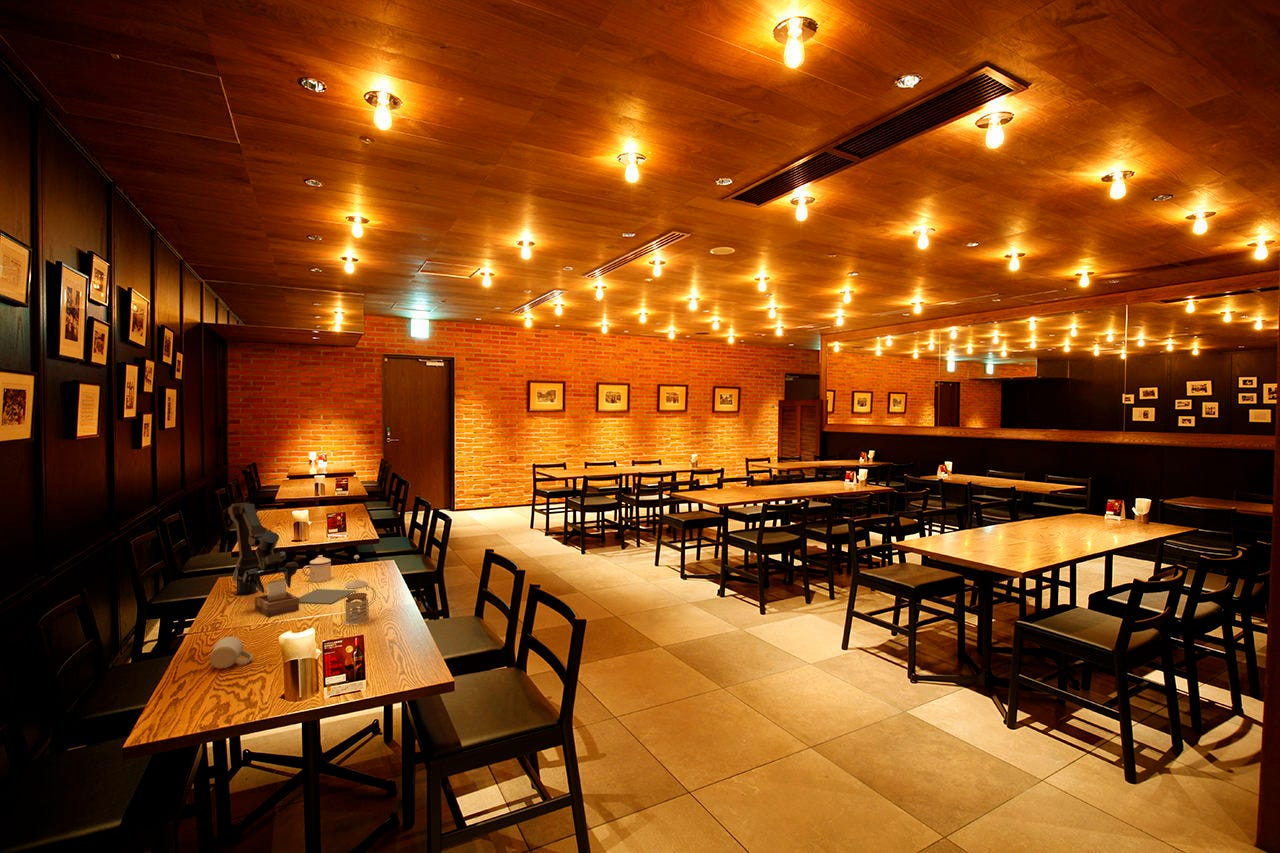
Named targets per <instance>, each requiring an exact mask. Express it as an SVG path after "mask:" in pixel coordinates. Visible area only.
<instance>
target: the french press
mask: <svg viewBox="0 0 1280 853" xmlns="http://www.w3.org/2000/svg"><path fill="white" fill-rule="evenodd" d="M353 559H354V560H355V559H356V560H358V559H360V555H358V554H355V555H354V556H353ZM344 587H345V588H346V590H359V589H364V588H365V590H366V591H368V589H369V588H370V589H371V591H372V598H371V601H370V602H369V598H368V597H367V596H368V594H367V593H365V592H354V593H353V594H351V595H350V594H349V595H348V596H347V597H346V600H345V619H344V620H343V622H342V624H343V623H344V624H349V625H354V624H361V625H363V624H362V623H365V622H367V621H369V620H370V618H371V617H370V618H369V616H370V615H369V612H370V611H369V610H370V608H369V607H370V606H371V605H372V604H374V602H375V600H376V597H377V596H376V590H375V588H373V587H372V586H370V585H369V582H368V581H365V580H360V579H359V580H358V579H356V580H352V581H350V582H348V583H347V584H345V585H344ZM369 622H370V621H369ZM344 624H343V625H344ZM365 624H366V623H365ZM354 626H355V625H354Z"/></svg>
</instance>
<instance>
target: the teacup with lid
mask: <svg viewBox="0 0 1280 853" xmlns="http://www.w3.org/2000/svg"><path fill="white" fill-rule="evenodd" d="M331 564H332V560H331V558H327V557H323V554H321V555H320V554H319V555H317V557H315V559H312V560H310V561H309V565H305V566H303V568H302V574H303V575H304V576H305V577H309V582H311V583H315V582H318V583H324V582H323V581H325V582H328V581H330V580H331V579H332V565H331ZM306 568H309V574H307V573H306V572H305V569H306ZM327 580H328V581H327Z"/></svg>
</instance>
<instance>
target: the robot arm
mask: <svg viewBox="0 0 1280 853" xmlns="http://www.w3.org/2000/svg"><path fill="white" fill-rule="evenodd" d="M227 510H228V514H229V516H230V517H229V518H230V520H231V521H232V522H233V523H234V524H235V527H236V536H237V545H238V554H239V555H238V556H239V558H238V560H237V561H236V563H235V569H234V571H233V573H232V579H233V581H235V582H236V592H234V593H233V595H234V594H235V596H238V595H239V596H249V595H251V594H254V593H256V592H258V591H260V592H261V593H262V594H264V593H265V587H264V585H263V582H262V580H261V577H264V576H270V575H277V574H282V573H283V575H284V578H283V579H285V580H286V587H287V588H288V589H290V588H291V580H292V577H293V576H294V575H295V574H296V573H297V571H298V569H299V564H298V562H296V561H293V562H292V561H291V562H287V563H286V564H285V565H284V566H283V567H280V565H281V562H282V561H285V560H286V559H287V554H286V552H285V551H280V552H279V553H274V551H273V550H275V549H276V546H277V545H278V541H279V539H280V535H279V534H278V533H276V532H275V531H272V529H268V528H266V527H264V526H263V525H262V523H261V520H260V518H259V516H258V513H257V510H256V506H255V504H254V503H249V502H240V503H232V504H231V505H230V506H229V507H228V508H227ZM252 548H256V549H255V556H254V555H253V550H252Z"/></svg>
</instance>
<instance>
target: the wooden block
mask: <svg viewBox="0 0 1280 853" xmlns="http://www.w3.org/2000/svg"><path fill="white" fill-rule="evenodd" d="M266 586H267V595H268V600H273V599H277V598H282V597H286V592H287V584H286V580H285V578H282V579H277V580H271V581H267V583H266Z"/></svg>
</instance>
